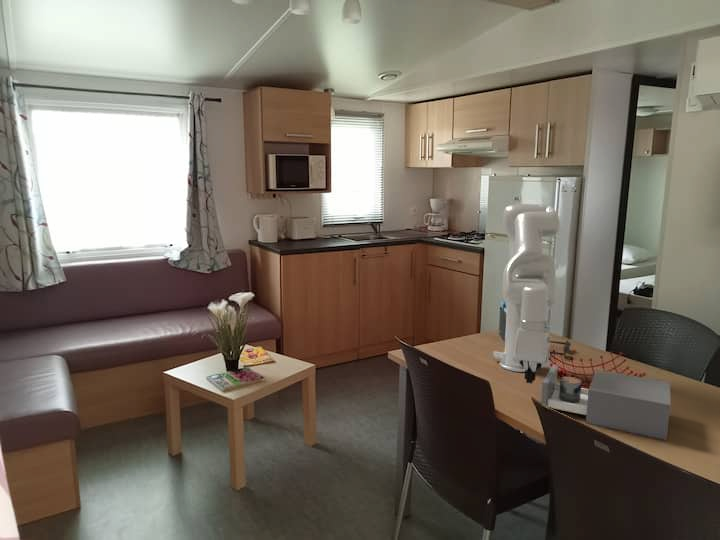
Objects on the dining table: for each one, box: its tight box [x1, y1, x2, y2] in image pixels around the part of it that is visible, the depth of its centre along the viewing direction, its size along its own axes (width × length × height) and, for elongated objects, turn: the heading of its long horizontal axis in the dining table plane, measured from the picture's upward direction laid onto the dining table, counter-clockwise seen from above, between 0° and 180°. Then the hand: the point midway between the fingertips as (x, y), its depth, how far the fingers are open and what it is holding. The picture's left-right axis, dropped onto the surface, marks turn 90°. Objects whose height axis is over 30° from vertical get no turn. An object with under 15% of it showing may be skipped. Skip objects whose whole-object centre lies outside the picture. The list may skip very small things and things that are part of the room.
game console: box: [498, 301, 506, 343], centre depth 221 cm, size 28×6×15 cm, turn 179°
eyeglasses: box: [549, 340, 572, 359], centre depth 210 cm, size 15×15×5 cm
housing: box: [585, 369, 671, 441], centre depth 151 cm, size 20×18×10 cm
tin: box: [559, 376, 583, 403], centre depth 159 cm, size 6×6×6 cm
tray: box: [540, 364, 589, 416], centre depth 158 cm, size 19×17×8 cm
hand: (529, 381), depth 164 cm, fingers closed
